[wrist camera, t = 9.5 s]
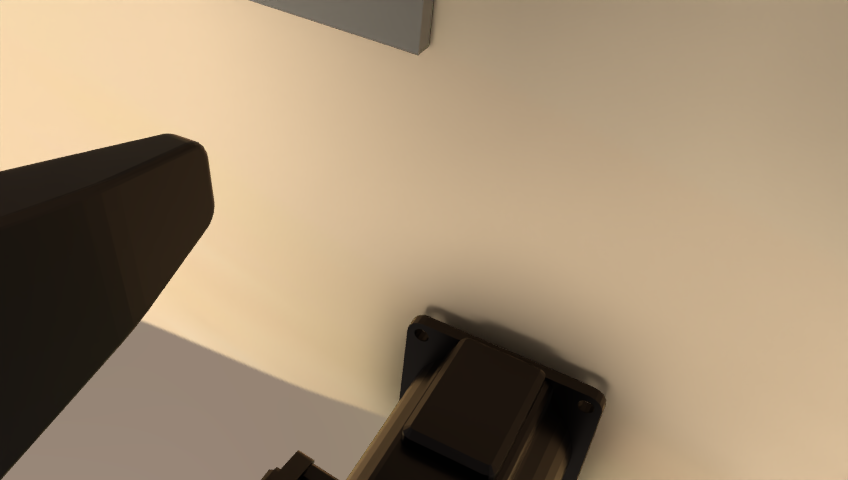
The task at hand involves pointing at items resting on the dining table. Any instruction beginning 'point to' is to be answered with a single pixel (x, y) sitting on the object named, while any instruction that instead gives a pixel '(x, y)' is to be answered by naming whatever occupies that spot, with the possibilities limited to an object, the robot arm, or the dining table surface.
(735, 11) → the dining table surface
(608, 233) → the dining table surface
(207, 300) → the dining table surface
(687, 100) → the dining table surface
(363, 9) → the mat
